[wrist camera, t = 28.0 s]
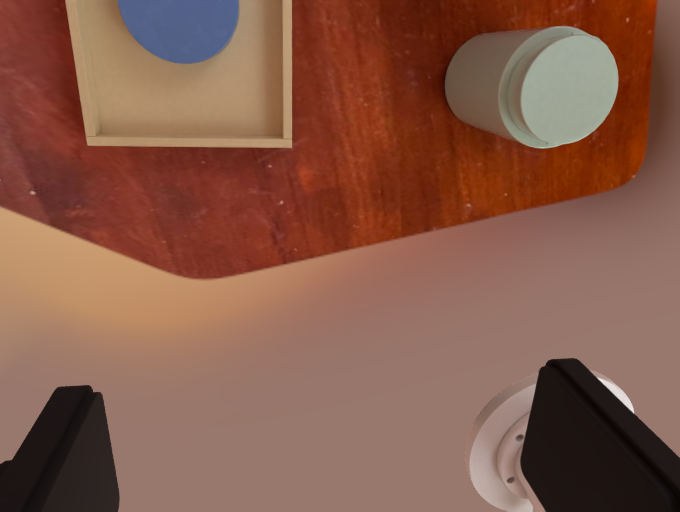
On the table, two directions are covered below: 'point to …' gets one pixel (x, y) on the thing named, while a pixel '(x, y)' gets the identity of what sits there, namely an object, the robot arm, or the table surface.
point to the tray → (184, 82)
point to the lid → (181, 27)
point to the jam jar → (533, 84)
